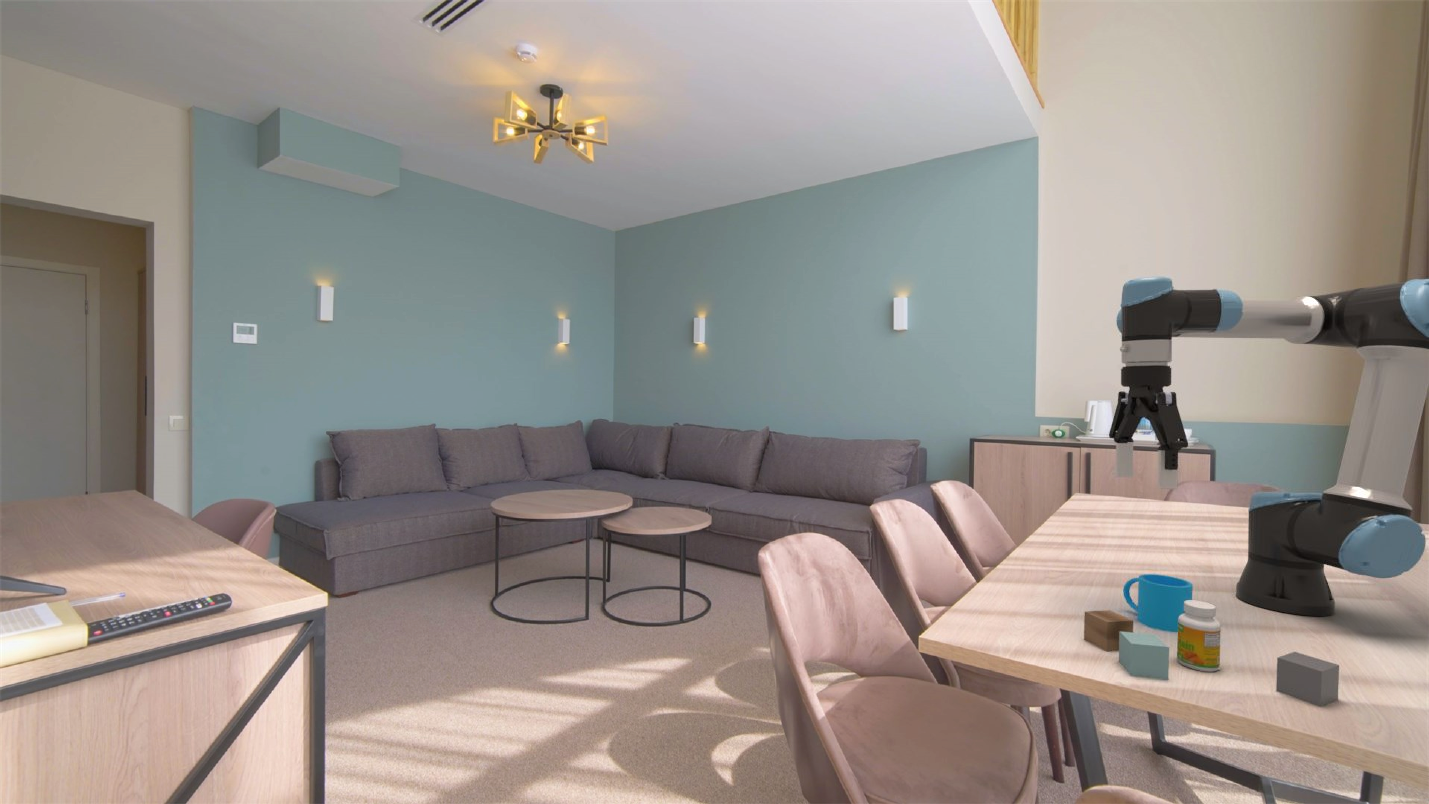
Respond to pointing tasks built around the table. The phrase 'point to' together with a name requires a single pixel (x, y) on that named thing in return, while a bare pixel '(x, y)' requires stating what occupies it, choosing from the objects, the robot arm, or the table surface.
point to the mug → (1159, 600)
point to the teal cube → (1143, 655)
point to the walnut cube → (1105, 628)
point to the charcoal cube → (1307, 678)
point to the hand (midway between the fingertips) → (1144, 482)
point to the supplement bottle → (1199, 637)
